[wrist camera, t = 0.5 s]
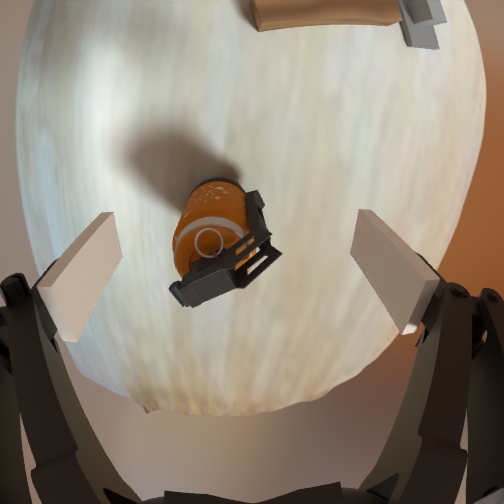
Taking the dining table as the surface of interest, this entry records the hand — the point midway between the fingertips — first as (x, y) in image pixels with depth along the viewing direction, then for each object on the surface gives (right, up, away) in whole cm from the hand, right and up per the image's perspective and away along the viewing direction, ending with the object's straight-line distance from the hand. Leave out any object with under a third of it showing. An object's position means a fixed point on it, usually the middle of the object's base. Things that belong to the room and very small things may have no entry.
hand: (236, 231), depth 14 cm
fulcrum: (+26, +36, +11) cm, 46 cm away
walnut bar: (+11, +33, +12) cm, 36 cm away
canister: (-3, +6, +26) cm, 27 cm away
